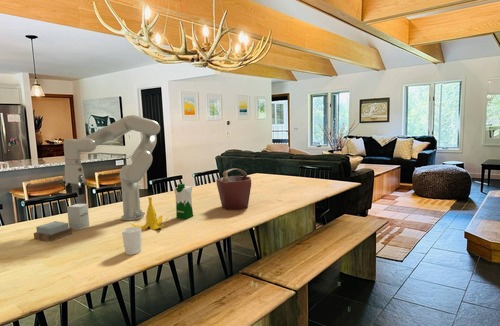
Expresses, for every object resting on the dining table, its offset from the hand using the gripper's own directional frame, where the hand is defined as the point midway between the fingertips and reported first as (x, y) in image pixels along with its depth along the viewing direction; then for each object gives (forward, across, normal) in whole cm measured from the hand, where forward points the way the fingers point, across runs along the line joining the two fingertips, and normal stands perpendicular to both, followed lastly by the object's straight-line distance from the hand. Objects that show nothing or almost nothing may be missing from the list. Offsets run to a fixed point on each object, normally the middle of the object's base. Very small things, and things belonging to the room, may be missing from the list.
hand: (75, 193), depth 181 cm
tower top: (+16, 0, +14) cm, 22 cm away
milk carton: (+18, -44, -37) cm, 60 cm away
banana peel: (+19, -36, -14) cm, 43 cm away
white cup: (+19, -55, +16) cm, 60 cm away
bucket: (+18, -61, -68) cm, 93 cm away
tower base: (+19, 0, +14) cm, 24 cm away
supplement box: (+19, 0, -1) cm, 19 cm away
